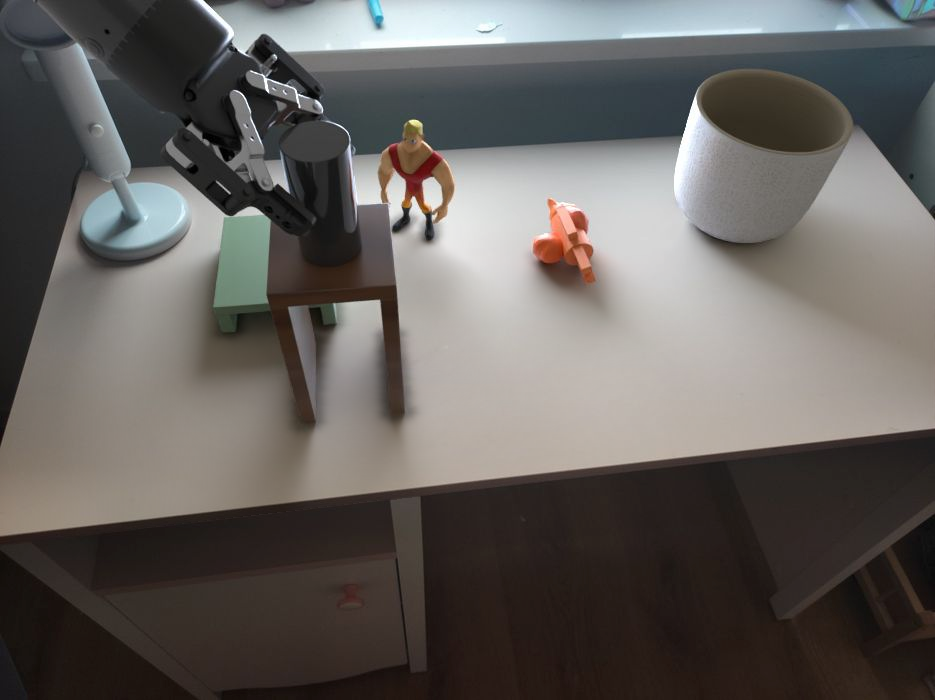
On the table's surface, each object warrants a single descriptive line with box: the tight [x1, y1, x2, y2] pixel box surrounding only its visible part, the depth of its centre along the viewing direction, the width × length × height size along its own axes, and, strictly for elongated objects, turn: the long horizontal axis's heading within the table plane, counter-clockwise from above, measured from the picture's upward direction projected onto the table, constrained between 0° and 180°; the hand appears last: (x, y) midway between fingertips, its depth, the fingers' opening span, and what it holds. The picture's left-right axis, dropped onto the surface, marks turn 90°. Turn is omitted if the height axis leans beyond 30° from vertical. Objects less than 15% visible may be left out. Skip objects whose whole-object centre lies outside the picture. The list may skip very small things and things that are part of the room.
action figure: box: [377, 119, 456, 240], centre depth 80 cm, size 10×4×15 cm, turn 70°
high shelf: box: [266, 202, 406, 424], centre depth 64 cm, size 10×10×18 cm
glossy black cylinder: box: [278, 121, 362, 267], centre depth 54 cm, size 5×5×10 cm
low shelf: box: [212, 214, 338, 334], centre depth 78 cm, size 14×12×4 cm
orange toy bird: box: [532, 197, 597, 285], centre depth 82 cm, size 5×8×12 cm
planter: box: [673, 68, 854, 244], centre depth 83 cm, size 17×17×15 cm
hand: (329, 192), depth 53 cm, fingers open, 8 cm apart
